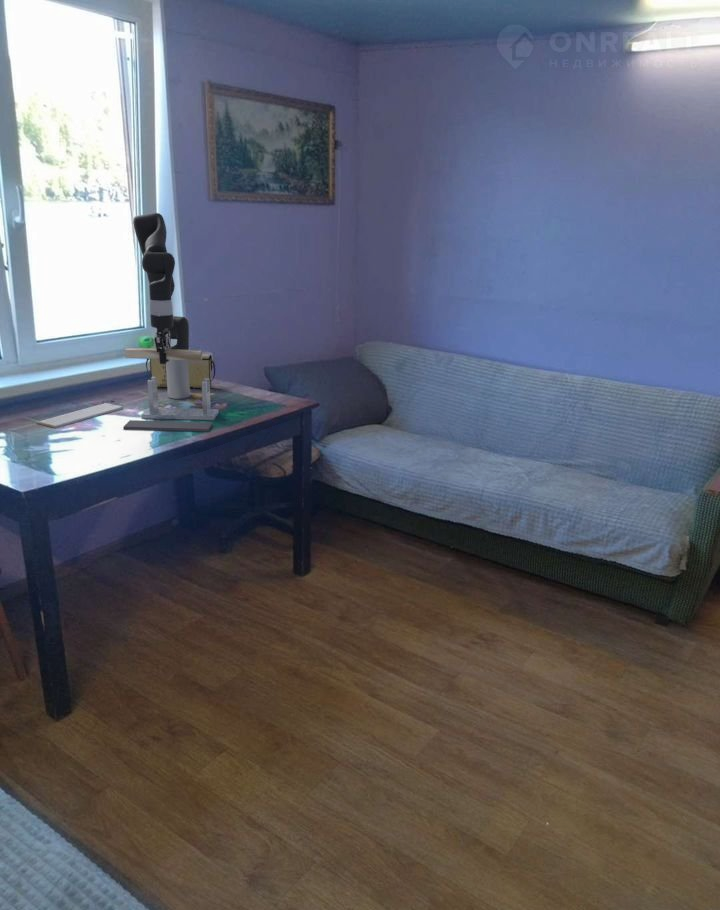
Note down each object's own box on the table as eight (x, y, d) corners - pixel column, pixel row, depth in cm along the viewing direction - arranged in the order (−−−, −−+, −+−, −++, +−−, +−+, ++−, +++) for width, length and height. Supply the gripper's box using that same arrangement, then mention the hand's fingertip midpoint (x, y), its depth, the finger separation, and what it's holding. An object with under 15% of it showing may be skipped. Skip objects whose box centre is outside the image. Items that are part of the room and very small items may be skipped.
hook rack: (148, 410, 272) (146, 375, 267) (218, 412, 273) (217, 377, 268) (141, 418, 263) (138, 381, 258) (213, 420, 263) (212, 384, 259)
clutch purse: (217, 385, 314) (215, 352, 309) (214, 389, 307) (213, 355, 302) (149, 384, 312) (147, 350, 307) (145, 387, 305) (143, 353, 300)
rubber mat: (130, 422, 257) (129, 420, 257) (212, 425, 258) (212, 422, 257) (123, 429, 249) (123, 426, 249) (208, 431, 250) (208, 429, 250)
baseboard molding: (33, 424, 254) (55, 430, 248) (32, 416, 253) (54, 422, 247) (101, 405, 279) (123, 410, 274) (101, 398, 278) (122, 403, 273)
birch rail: (128, 356, 246) (127, 347, 245) (202, 358, 247) (202, 350, 246) (125, 358, 243) (124, 349, 242) (200, 360, 244) (200, 351, 243)
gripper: (155, 309, 246) (158, 358, 252) (144, 315, 233) (148, 366, 239) (177, 310, 247) (179, 358, 252) (167, 316, 233) (170, 367, 239)
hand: (164, 362), depth 246 cm, fingers closed on birch rail, 3 cm apart
